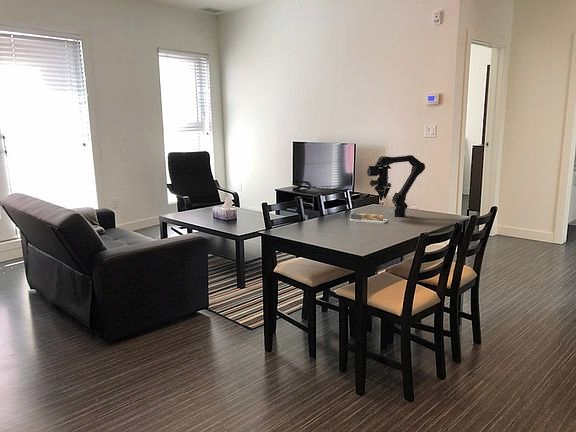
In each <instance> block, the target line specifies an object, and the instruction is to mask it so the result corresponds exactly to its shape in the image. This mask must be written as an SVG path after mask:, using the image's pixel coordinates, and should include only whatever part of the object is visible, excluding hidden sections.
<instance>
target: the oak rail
mask: <svg viewBox="0 0 576 432" xmlns="http://www.w3.org/2000/svg"><path fill="white" fill-rule="evenodd" d="M354 213H355V214H356V215H361V219H363V220H374V221H382V220H383V219H384V215H383V214H374V213H373V214H371V213H364V214H362V213H363V212H354Z"/></svg>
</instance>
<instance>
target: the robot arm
mask: <svg viewBox="0 0 576 432" xmlns="http://www.w3.org/2000/svg"><path fill="white" fill-rule="evenodd" d="M406 162H408V163H409V165H410V166H411V169H410V174H409V176H408V178H407V179H406V181H404V184H403V185H402V187H401V189H400V190H399V191H398V192H395V193H394V195H393V196H392V197H391V198H392V200H391V201H392V204H393V205H394V207H395V209H394V218H406V217H407V209H408V206H409V205H408V203H406V199H407V195H408V193H409V191H410V189H411V188H412V186H413V185H414V183H415V181H416V179H417V178H418V176H420V175H421V174H422V173H424V171H425V169H426V165H425V163H424V162H422V161H420V160H419V159H418V158H416V157H415V156H414V155H411V154H408V155H401V156H400V155H398V156H385V155H382V156H379V157H378V160H377V162H376V163H375V164H374V165H368V168H367V171H366V174H367V176H368V177H377V179H376V180H374V179H371V180H370V182H369V185H370V187H374V191H375V192H377V194H378V198H379V201H380V202H381V201H383V199H387V196H388V194H389V193H390V190H391V188H392V183H391V182H389V170H392V166H390V165H392V164H397V163H406Z"/></svg>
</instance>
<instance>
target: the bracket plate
mask: <svg viewBox="0 0 576 432" xmlns="http://www.w3.org/2000/svg"><path fill="white" fill-rule="evenodd" d="M355 213H356V212H353V213H351V214H350V218H349V222H356V223H358V222H359V223H368V224H378V225H379V224H380V225H385V224H386V222H388V219H386V218H383V220H382V221H374V220H363V219H361V215H356V214H355ZM361 213H362V214H365V213H363V212H361Z"/></svg>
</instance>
